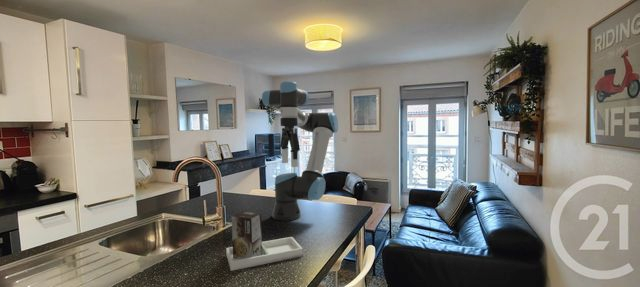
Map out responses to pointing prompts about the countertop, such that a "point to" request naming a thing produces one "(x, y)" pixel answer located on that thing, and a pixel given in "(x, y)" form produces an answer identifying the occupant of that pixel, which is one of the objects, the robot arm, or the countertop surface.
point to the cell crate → (267, 253)
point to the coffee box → (246, 235)
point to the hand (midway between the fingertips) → (289, 164)
